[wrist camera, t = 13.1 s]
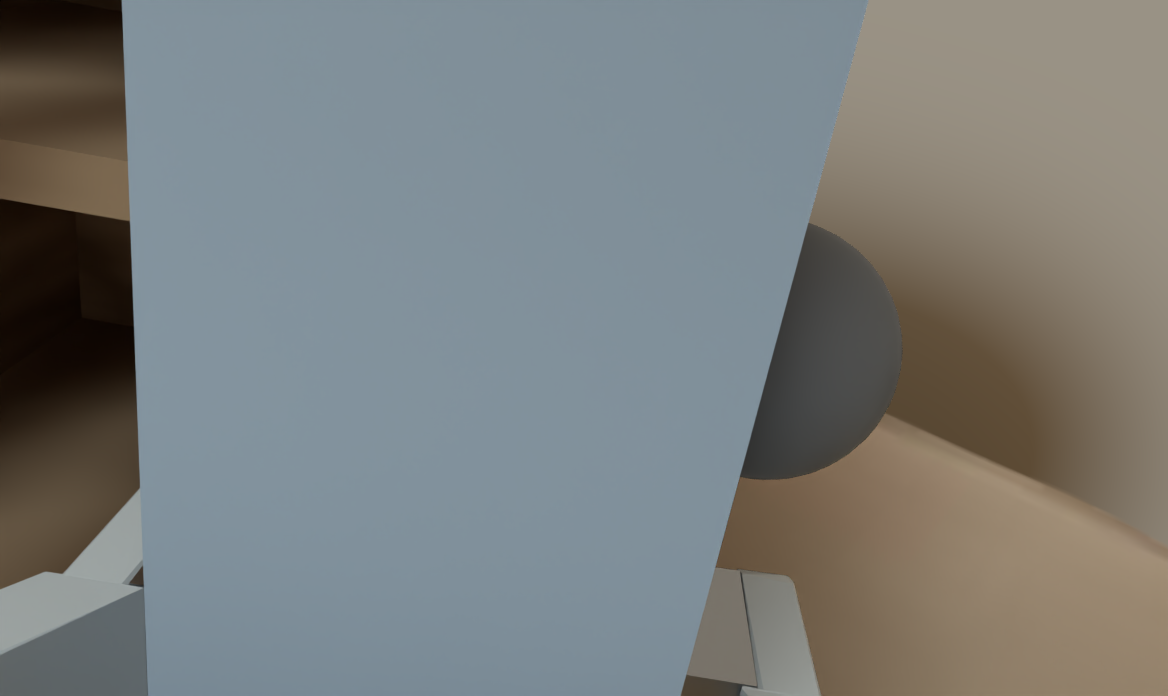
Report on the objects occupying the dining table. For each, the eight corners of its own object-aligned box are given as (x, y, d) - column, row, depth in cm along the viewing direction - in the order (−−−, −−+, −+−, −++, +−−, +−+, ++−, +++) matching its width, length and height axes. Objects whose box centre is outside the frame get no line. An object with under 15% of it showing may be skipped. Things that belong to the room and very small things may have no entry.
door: (610, 1458, 9) (1260, -119, 4) (174, 1392, 9) (108, -326, 3) (626, 698, 18) (814, -87, 13) (406, 661, 18) (495, -145, 13)
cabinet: (-559, 777, 16) (-1559, -1356, 7) (64, 332, 33) (10, -445, 24) (597, 964, 16) (1081, -830, 7) (619, 428, 34) (771, -302, 25)
